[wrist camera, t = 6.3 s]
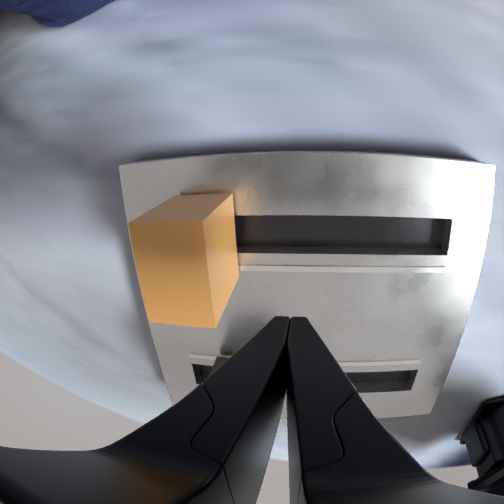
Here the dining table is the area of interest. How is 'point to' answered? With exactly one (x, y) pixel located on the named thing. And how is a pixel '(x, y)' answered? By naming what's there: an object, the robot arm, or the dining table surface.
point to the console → (336, 260)
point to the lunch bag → (53, 9)
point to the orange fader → (186, 258)
